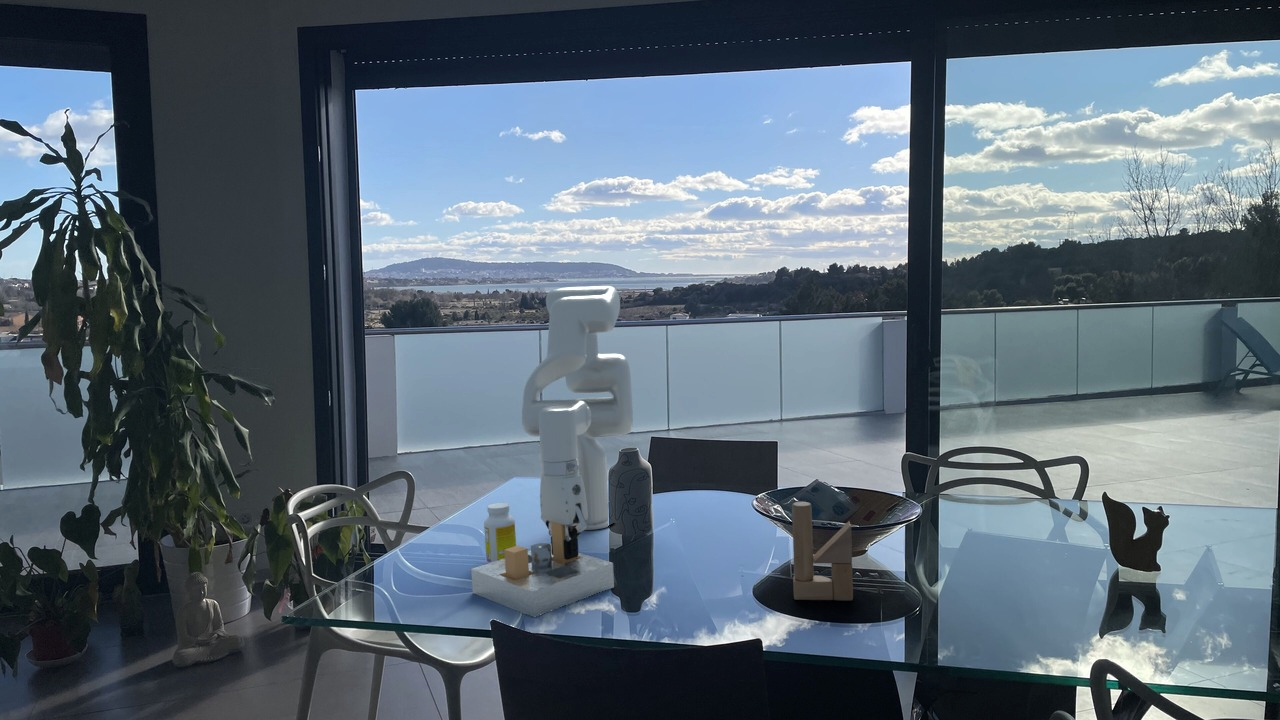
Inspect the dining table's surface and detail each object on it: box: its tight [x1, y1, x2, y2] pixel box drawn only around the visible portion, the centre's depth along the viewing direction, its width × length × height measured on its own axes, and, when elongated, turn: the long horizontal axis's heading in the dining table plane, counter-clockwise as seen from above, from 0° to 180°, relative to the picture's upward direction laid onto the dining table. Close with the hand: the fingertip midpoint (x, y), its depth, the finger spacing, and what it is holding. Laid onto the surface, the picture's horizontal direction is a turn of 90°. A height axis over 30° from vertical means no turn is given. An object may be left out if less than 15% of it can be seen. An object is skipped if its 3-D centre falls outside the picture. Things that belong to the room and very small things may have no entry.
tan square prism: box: [551, 521, 576, 564], centre depth 182 cm, size 3×3×10 cm
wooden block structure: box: [791, 501, 854, 602], centre depth 167 cm, size 4×11×18 cm, turn 82°
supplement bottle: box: [483, 502, 517, 564], centre depth 196 cm, size 7×7×13 cm
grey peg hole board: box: [470, 542, 615, 618], centre depth 178 cm, size 20×20×9 cm
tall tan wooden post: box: [504, 545, 529, 581], centre depth 174 cm, size 3×3×10 cm
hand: (565, 554), depth 182 cm, fingers closed on tan square prism, 3 cm apart
